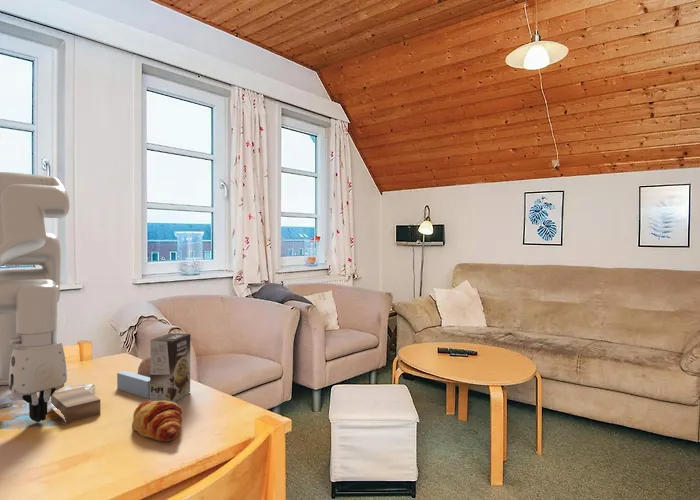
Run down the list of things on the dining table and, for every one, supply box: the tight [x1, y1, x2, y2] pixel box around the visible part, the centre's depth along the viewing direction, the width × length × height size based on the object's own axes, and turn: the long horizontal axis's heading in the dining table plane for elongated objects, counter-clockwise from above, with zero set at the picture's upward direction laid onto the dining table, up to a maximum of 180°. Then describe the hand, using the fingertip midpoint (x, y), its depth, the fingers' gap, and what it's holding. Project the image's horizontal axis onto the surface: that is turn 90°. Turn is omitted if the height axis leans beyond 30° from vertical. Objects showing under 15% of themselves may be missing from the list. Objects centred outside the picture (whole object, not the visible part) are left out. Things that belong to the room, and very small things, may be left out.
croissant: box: [131, 400, 183, 442], centre depth 102 cm, size 21×10×8 cm, turn 40°
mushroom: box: [137, 354, 150, 377], centre depth 131 cm, size 8×6×8 cm
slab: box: [50, 386, 101, 424], centre depth 110 cm, size 12×7×4 cm, turn 47°
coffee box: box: [149, 332, 191, 403], centre depth 120 cm, size 9×6×16 cm
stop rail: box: [116, 370, 150, 399], centre depth 124 cm, size 13×2×4 cm, turn 60°
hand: (38, 419), depth 103 cm, fingers closed
